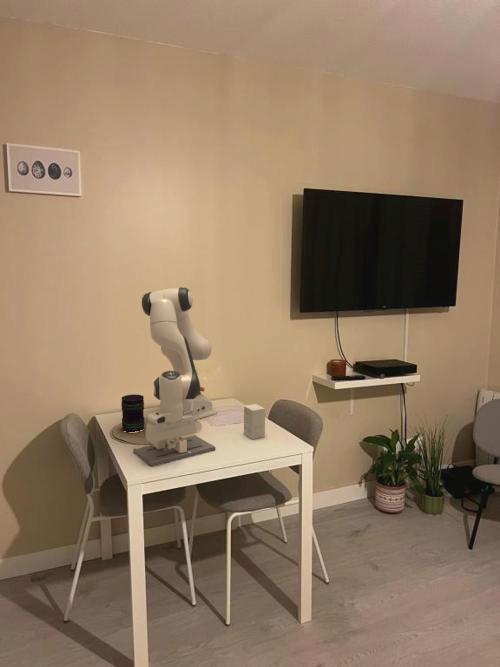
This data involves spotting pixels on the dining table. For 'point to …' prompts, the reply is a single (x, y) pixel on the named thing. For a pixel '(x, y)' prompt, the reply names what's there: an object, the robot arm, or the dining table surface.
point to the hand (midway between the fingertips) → (171, 448)
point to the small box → (254, 421)
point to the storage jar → (132, 413)
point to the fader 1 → (159, 444)
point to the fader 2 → (181, 445)
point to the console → (173, 451)
